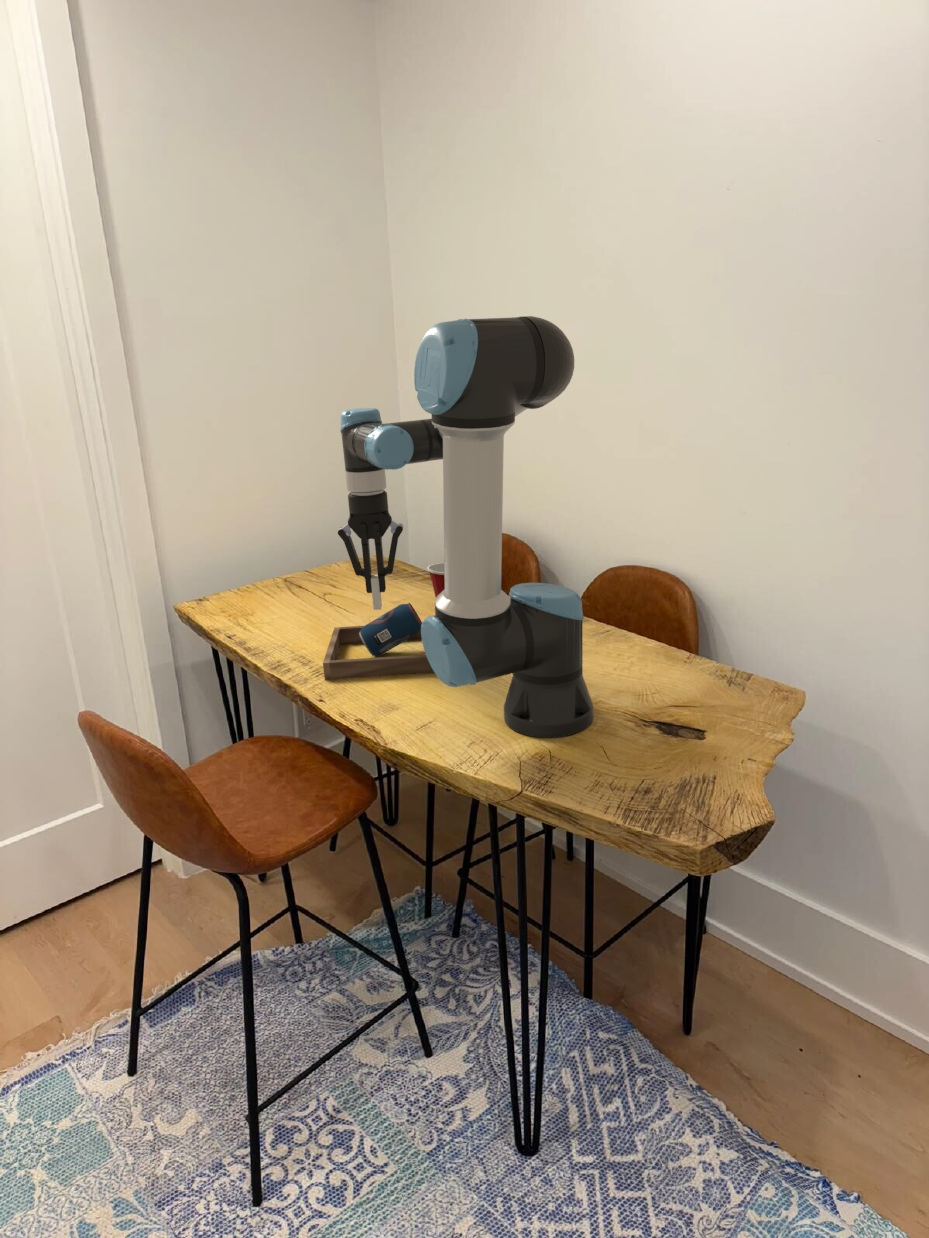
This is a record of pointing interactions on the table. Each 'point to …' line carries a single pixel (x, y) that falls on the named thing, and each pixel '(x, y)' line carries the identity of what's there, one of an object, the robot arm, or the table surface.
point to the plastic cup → (437, 577)
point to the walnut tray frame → (369, 659)
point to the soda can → (390, 629)
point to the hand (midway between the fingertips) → (377, 607)
